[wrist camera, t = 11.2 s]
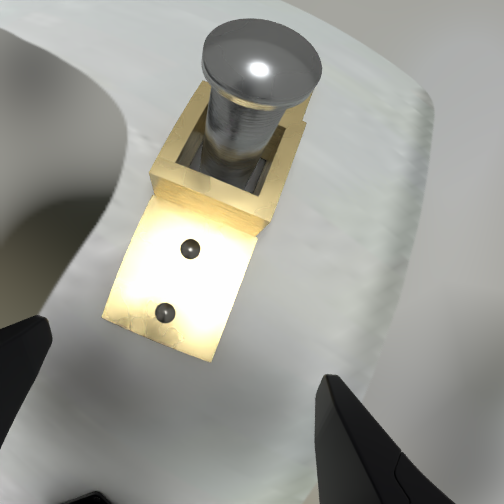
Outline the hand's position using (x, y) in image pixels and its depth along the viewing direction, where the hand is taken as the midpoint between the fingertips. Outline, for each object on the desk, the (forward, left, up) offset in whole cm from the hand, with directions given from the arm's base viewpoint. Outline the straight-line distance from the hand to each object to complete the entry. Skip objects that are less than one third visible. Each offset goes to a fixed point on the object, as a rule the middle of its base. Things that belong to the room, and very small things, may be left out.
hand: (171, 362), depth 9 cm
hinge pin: (+7, +7, -10) cm, 14 cm away
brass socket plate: (+8, +7, -10) cm, 14 cm away
